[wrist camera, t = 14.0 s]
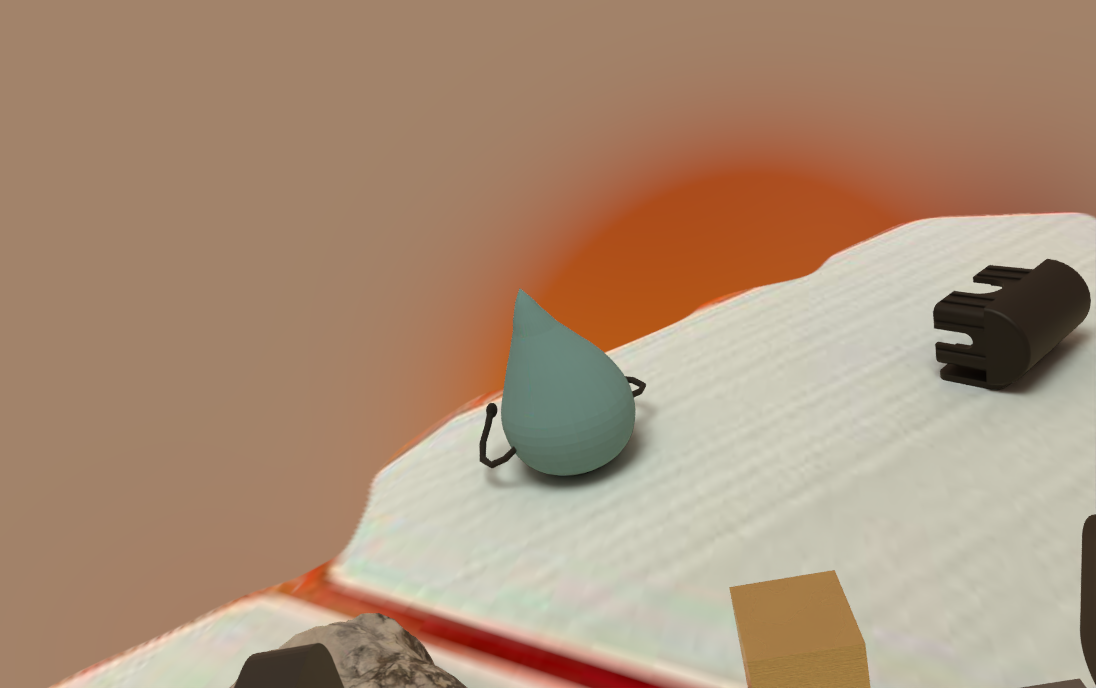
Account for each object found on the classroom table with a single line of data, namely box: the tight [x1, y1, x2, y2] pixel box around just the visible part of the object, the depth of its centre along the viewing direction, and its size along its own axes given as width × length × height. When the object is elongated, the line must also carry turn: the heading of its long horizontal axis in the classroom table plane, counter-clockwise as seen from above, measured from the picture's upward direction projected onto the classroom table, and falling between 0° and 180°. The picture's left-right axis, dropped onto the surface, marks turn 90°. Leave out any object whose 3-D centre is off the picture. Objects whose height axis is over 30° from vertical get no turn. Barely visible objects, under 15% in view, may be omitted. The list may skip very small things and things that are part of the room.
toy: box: [480, 289, 646, 476], centre depth 68 cm, size 15×12×15 cm
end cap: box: [933, 259, 1091, 389], centre depth 68 cm, size 10×7×7 cm
